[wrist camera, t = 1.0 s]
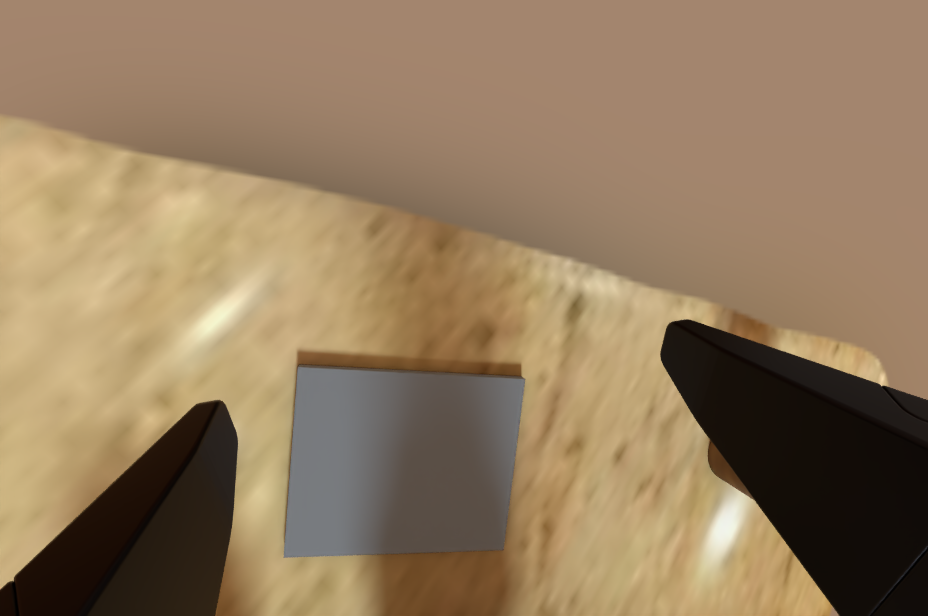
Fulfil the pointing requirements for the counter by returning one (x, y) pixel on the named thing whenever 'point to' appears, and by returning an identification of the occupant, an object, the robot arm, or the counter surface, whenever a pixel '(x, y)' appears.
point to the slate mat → (400, 461)
